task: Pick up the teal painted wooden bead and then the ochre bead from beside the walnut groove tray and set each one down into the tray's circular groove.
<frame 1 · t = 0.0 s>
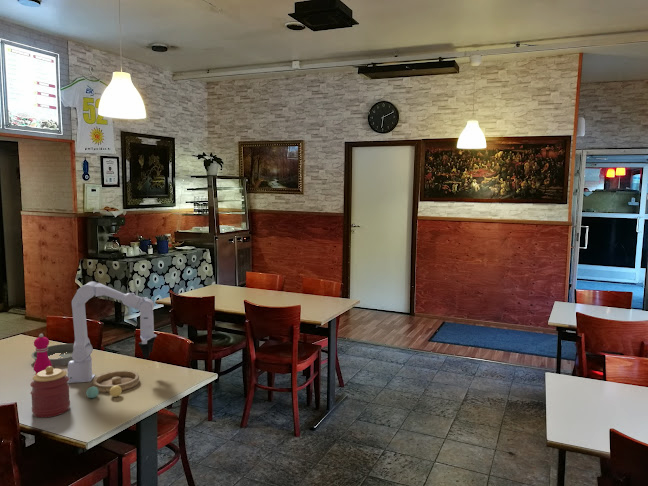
hand: (147, 354, 225), 10 cm above the table, fingers open, 7 cm apart
pepper mill: (43, 376, 224), on the table
bead teal: (92, 397, 202), on the table
cake pan: (60, 360, 248), on the table
bead ochre: (115, 396, 203), on the table
groove tray: (116, 384, 216), on the table
canister: (51, 411, 190), on the table
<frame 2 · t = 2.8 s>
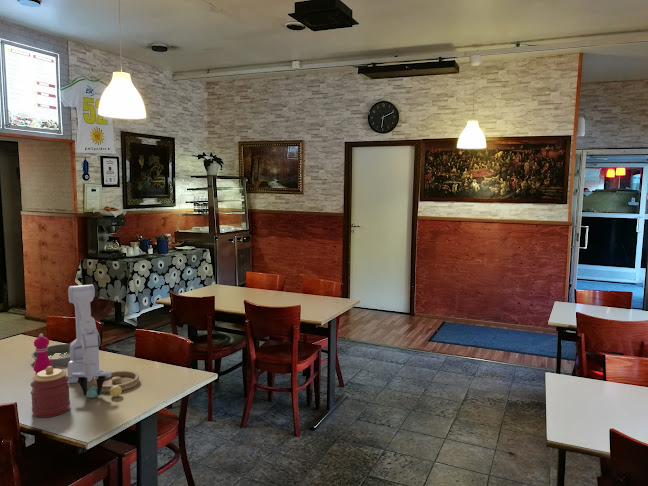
hand: (92, 394, 202), 1 cm above the table, fingers closed on bead teal, 5 cm apart
bead teal: (92, 397, 202), on the table, touching gripper
everything else where it was.
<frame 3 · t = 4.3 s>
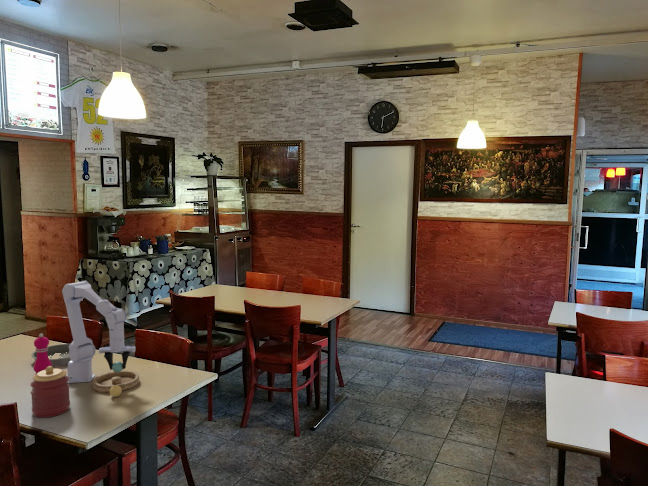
hand: (117, 368, 212), 8 cm above the table, fingers closed on bead teal, 5 cm apart
bead teal: (117, 372, 212), point 7 cm above the table, touching gripper
everything else where it was.
when the fingers open (3 cm above the table, at t = 6.0 s): bead teal drops 1 cm, resting on groove tray.
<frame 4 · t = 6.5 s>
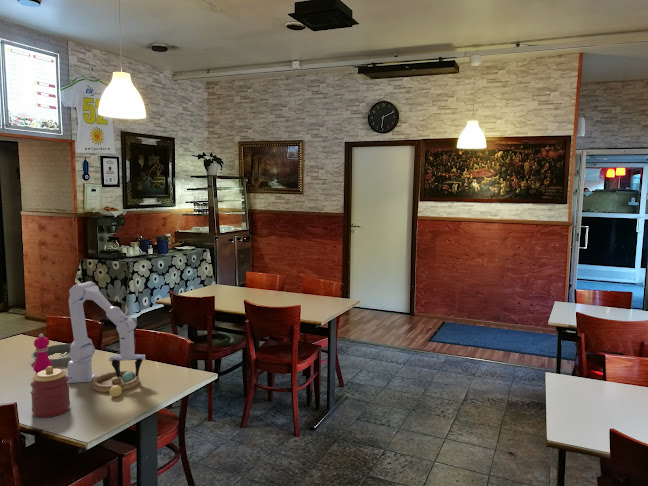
hand: (127, 376, 216), 3 cm above the table, fingers open, 7 cm apart
bead teal: (128, 382, 217), point 1 cm above the table, touching groove tray
everything else where it was.
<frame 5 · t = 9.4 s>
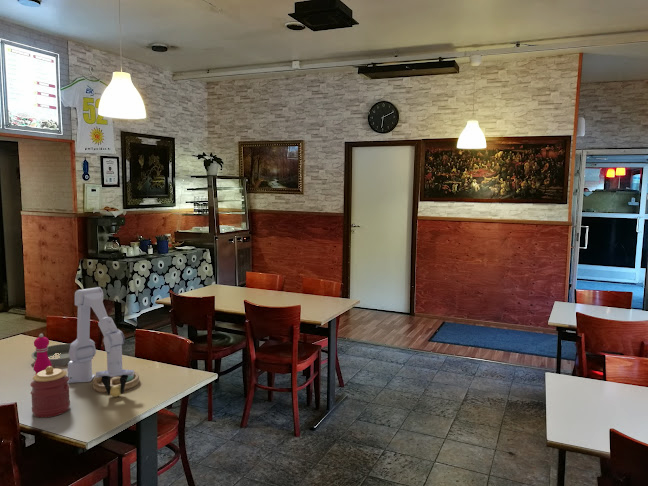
hand: (115, 393, 203), 1 cm above the table, fingers closed on bead ochre, 5 cm apart
bead ochre: (115, 396, 203), on the table, touching gripper
everything else where it was.
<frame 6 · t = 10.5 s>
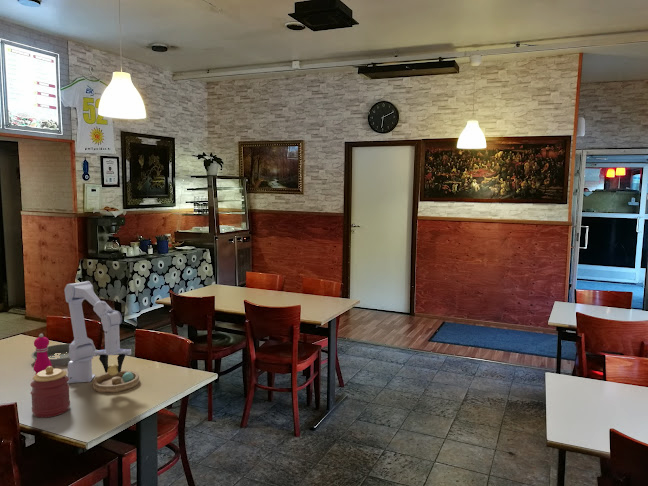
hand: (113, 371, 209), 8 cm above the table, fingers closed on bead ochre, 5 cm apart
bead ochre: (113, 374, 209), point 7 cm above the table, touching gripper
everything else where it was.
when the fingers open (3 cm above the table, at t = 12.0 s): bead ochre drops 1 cm, resting on groove tray.
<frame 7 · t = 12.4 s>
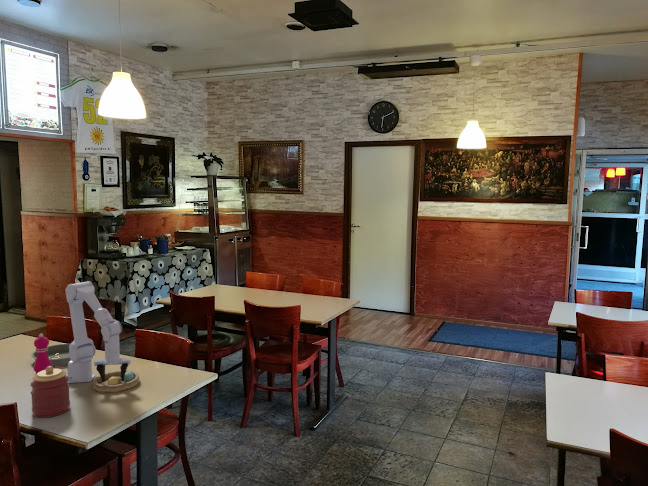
hand: (113, 381, 211), 3 cm above the table, fingers open, 7 cm apart
bead ochre: (113, 387, 211), point 1 cm above the table, touching groove tray
everything else where it was.
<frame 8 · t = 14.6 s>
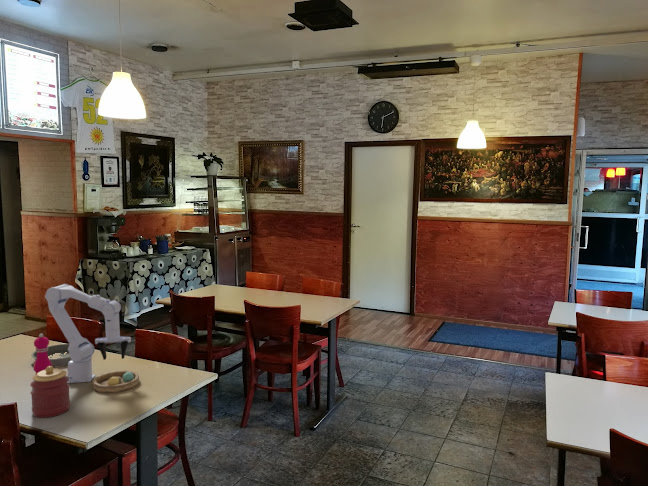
hand: (114, 358, 219), 10 cm above the table, fingers open, 7 cm apart
nothing on the table moved.
at the end: bead teal inside the target area on the groove tray (4.9 cm from its centre), point 0.6 cm above the groove tray's base; bead ochre inside the target area on the groove tray (4.9 cm from its centre), point 0.6 cm above the groove tray's base; the gripper is holding nothing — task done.
